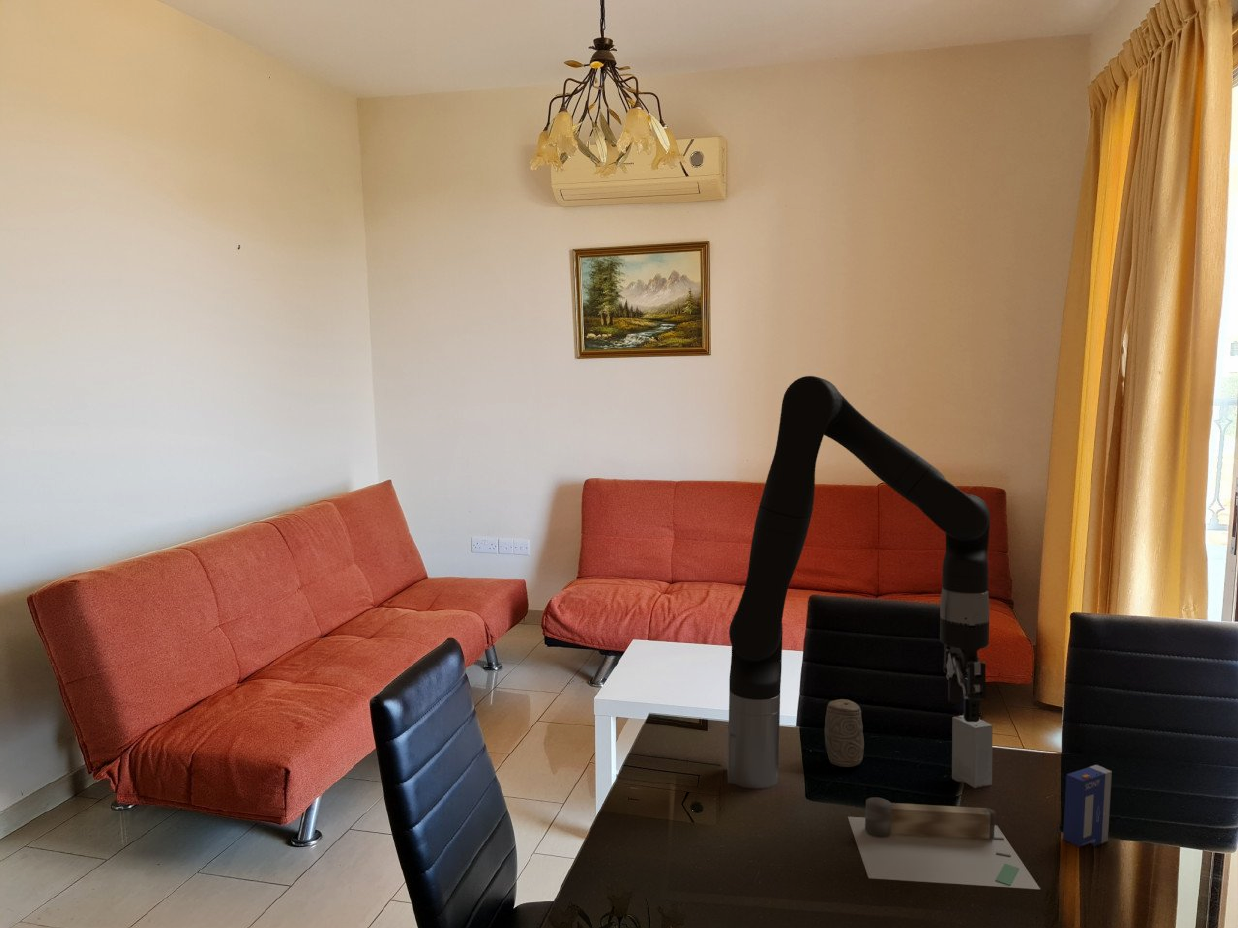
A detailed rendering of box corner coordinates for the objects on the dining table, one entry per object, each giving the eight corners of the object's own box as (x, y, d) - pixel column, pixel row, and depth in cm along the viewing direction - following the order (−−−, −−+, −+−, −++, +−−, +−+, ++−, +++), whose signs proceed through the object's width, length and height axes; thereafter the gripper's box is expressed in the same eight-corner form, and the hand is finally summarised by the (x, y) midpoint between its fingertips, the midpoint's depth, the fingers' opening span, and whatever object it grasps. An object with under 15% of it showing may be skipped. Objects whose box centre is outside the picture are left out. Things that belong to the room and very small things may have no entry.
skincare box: (992, 789, 152) (995, 724, 151) (973, 793, 151) (976, 728, 150) (968, 775, 158) (970, 712, 157) (949, 778, 156) (951, 715, 155)
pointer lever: (867, 835, 133) (868, 808, 133) (862, 822, 137) (863, 796, 137) (998, 843, 131) (999, 815, 131) (989, 830, 135) (990, 803, 135)
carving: (830, 753, 167) (832, 694, 166) (868, 762, 163) (870, 702, 162) (818, 764, 162) (820, 703, 161) (856, 774, 158) (858, 712, 157)
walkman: (1078, 852, 131) (1083, 779, 130) (1062, 844, 134) (1066, 771, 133) (1109, 840, 135) (1113, 768, 134) (1092, 832, 137) (1096, 762, 136)
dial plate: (868, 884, 122) (868, 876, 122) (847, 822, 140) (847, 815, 140) (1040, 895, 120) (1040, 887, 120) (996, 830, 138) (997, 824, 138)
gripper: (929, 605, 146) (928, 696, 147) (954, 627, 132) (952, 727, 133) (974, 605, 145) (972, 696, 146) (1003, 627, 131) (1001, 728, 132)
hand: (963, 711), depth 140 cm, fingers open, 8 cm apart
